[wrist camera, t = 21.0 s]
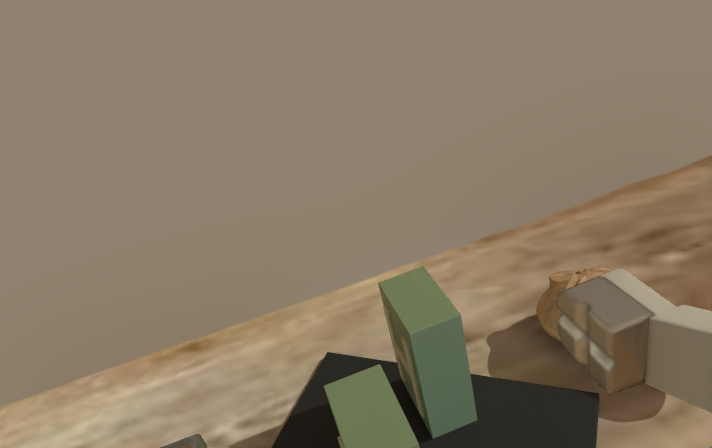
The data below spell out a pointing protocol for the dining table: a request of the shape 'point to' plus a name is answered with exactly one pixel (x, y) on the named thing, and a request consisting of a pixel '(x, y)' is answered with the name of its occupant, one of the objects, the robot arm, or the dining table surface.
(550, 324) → the pottery oil lamp
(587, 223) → the dining table surface
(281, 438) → the word mat
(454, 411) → the letter H
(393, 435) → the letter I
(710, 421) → the dining table surface
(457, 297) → the dining table surface
